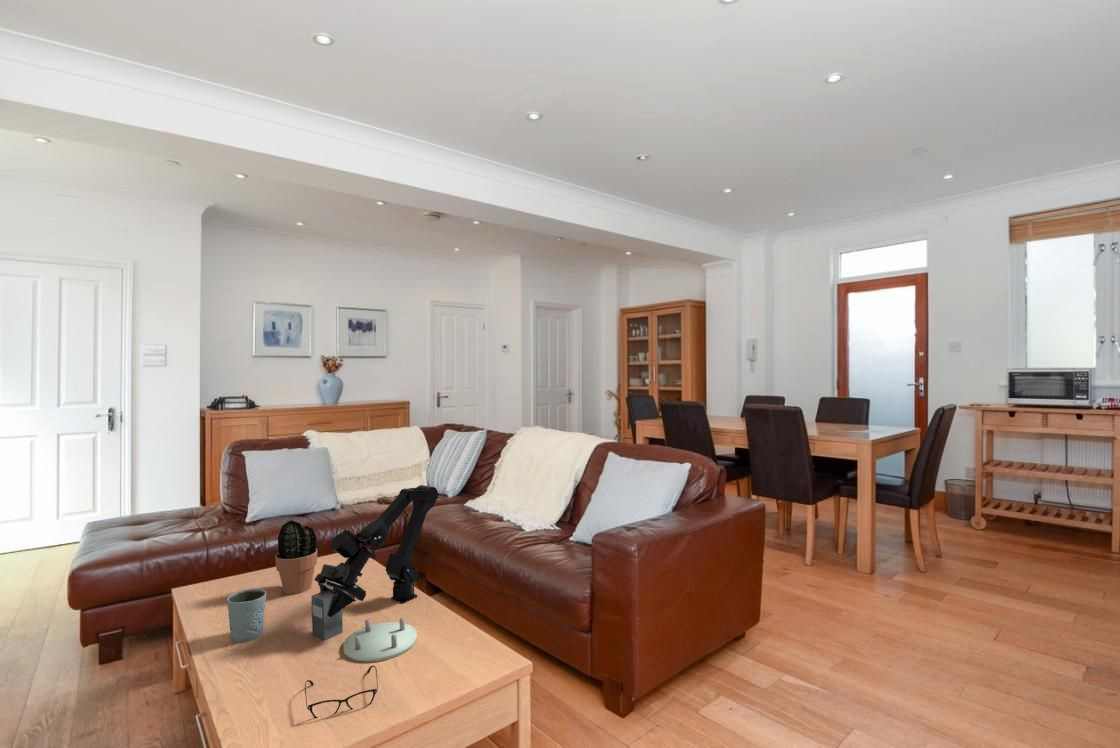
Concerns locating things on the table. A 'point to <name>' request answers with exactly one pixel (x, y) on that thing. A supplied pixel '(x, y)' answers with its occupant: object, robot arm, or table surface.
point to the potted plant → (296, 557)
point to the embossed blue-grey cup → (246, 614)
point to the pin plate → (380, 641)
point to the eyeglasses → (341, 700)
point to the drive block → (325, 615)
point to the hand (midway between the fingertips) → (322, 613)
